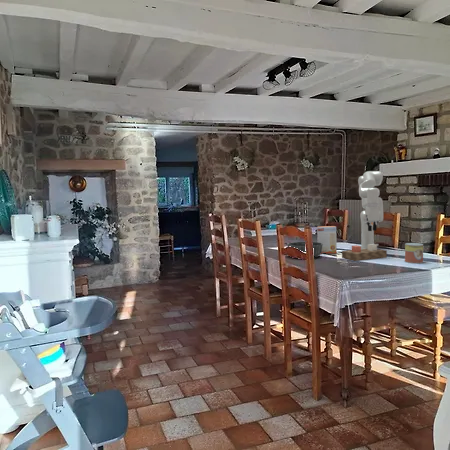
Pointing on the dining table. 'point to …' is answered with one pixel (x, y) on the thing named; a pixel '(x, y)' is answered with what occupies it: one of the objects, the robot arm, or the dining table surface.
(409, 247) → the canned food
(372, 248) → the ivory cube
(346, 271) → the dining table surface
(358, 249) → the salmon pink cube
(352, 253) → the block
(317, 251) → the bundt pan
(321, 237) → the cracker box
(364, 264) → the dining table surface
